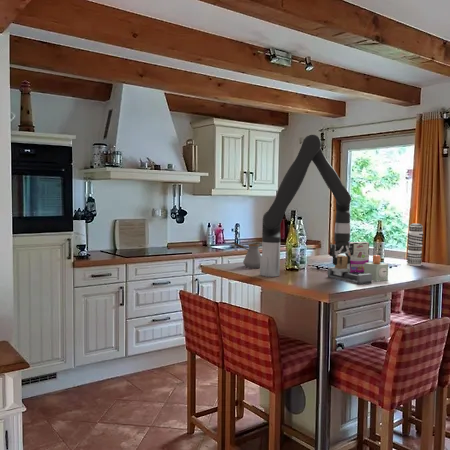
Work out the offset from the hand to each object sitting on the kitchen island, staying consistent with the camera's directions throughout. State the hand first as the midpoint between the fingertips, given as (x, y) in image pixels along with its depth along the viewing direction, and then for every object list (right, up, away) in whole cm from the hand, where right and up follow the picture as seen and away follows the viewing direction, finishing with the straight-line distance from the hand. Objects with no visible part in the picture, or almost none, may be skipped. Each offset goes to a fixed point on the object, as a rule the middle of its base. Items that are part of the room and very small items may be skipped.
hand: (341, 264), depth 238 cm
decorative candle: (+57, -5, +50) cm, 76 cm away
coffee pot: (-47, -4, +26) cm, 53 cm away
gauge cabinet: (+17, -7, -1) cm, 18 cm away
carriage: (0, -5, 0) cm, 5 cm away
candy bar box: (+13, -6, +19) cm, 24 cm away
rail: (+3, -7, -5) cm, 9 cm away
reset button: (+17, +1, -2) cm, 17 cm away
